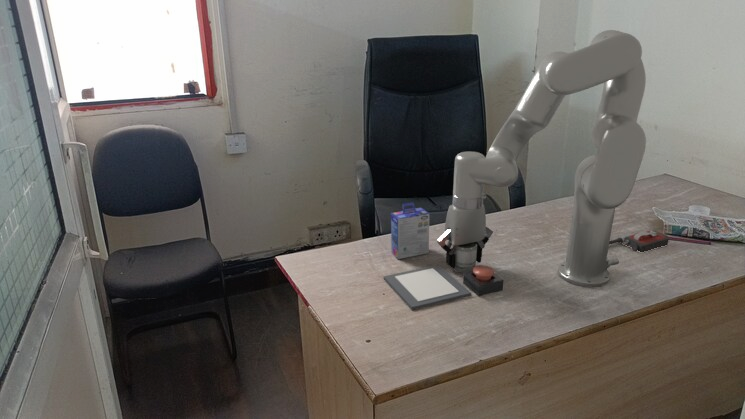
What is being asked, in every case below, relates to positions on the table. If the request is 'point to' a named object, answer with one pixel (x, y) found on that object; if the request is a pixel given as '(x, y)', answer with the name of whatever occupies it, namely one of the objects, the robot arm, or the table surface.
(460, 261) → the camera lens
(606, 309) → the table surface
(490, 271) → the button
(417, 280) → the desk mat
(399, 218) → the ink cartridge box
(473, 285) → the button housing
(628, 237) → the walkie-talkie
